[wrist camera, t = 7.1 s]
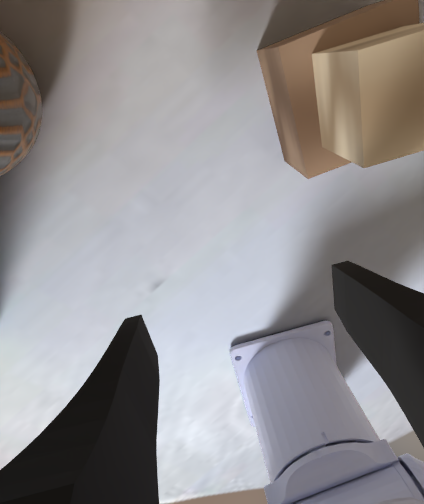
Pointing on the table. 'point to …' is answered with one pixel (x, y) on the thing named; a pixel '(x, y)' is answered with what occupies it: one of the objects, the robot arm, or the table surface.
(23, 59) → the vase
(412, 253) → the table surface
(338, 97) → the beech cube
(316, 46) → the tan wooden block
